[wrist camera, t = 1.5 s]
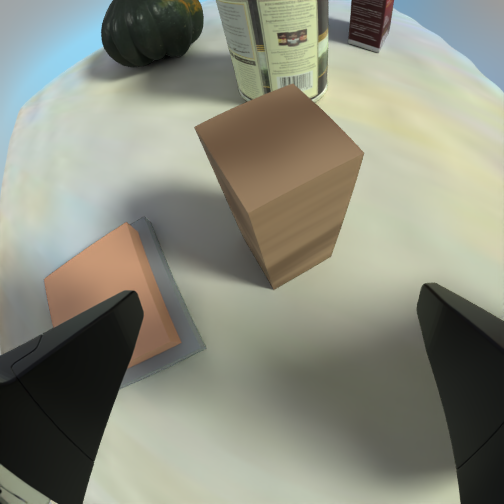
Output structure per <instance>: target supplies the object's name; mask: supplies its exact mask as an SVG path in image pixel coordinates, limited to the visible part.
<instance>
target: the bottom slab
mask: <svg viewBox="0 0 504 504" xmlns="http://www.w3.org/2000/svg"><path fill="white" fill-rule="evenodd" d="M131 226H132V227H133V228H134V229H135V230H136V231H138V233H139V236H140V239H141V242H142V245H143V248H144V251H145V253H146V256H147V259H148V262H149V264H150V267H151V270H152V272H153V275H154V278H155V280H156V283H157V285H158V288H159V290H160V293H161V295H162V298H163V300H164V303H165V305H166V308H167V310H168V312H169V315H170V317H171V320H172V322H173V324H174V327H175V329H176V331H177V333H178V336H179V338H180V340H181V342H182V343H180V344H178V345H176V346H174V347H172V348H170V349H168V350H166V351H164V352H162V353H160V354H158V355H156V356H154V357H151V358H149V359H147V360H145V361H143V362H141V363H139V364H137V365H134V366H132V367H130V368H128V369H127V371H126V373H125V376H124V378H123V381H122V383H121V386H120V389H121V388H124V387H126V386H128V385H130V384H133V383H135V382H137V381H139V380H142V379H144V378H146V377H148V376H150V375H152V374H155V373H157V372H159V371H161V370H163V369H165V368H167V367H169V366H172V365H174V364H176V363H178V362H180V361H182V360H184V359H186V358H188V357H190V356H192V355H194V354H196V353H198V352H200V351H202V350H204V349H206V346H205V344H204V342H203V340H202V338H201V336H200V334H199V332H198V330H197V328H196V326H195V324H194V322H193V320H192V318H191V315H190V313H189V311H188V309H187V307H186V305H185V303H184V300H183V298H182V296H181V294H180V291H179V289H178V287H177V285H176V282H175V280H174V278H173V276H172V273H171V271H170V269H169V266H168V264H167V262H166V259H165V257H164V254H163V252H162V249H161V247H160V245H159V242H158V240H157V237H156V235H155V232H154V229H153V227H152V224H151V222H150V221H149V220H147V219H146V218H145V217H142V218H141V219H139V220H137V221H136V222H134V223H133V224H131Z"/></svg>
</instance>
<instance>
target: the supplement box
mask: <svg viewBox="0 0 504 504" xmlns="http://www.w3.org/2000/svg"><path fill="white" fill-rule="evenodd" d="M393 3H394V0H352V2H351V16H350V27H349V38H348V43H349V44H352V45H355V46H358V47H361V48H365V49H368V50H371V51H374V52H377V53H379V51H380V49H381V47H382V45H383V43H384V41H385V39H386V37H387V36H388V34H389V29H390V23H391V17H392V11H393Z"/></svg>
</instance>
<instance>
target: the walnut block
mask: <svg viewBox="0 0 504 504" xmlns="http://www.w3.org/2000/svg"><path fill="white" fill-rule="evenodd" d="M194 128H195V130H196V132H197V134H198V137H199V139H200V141H201V143H202V146H203V148H204V150H205V152H206V155H207V157H208V159H209V161H210V164H211V166H212V168H213V170H214V173H215V175H216V177H217V179H218V182H219V184H220V186H221V188H222V191H223V193H224V195H225V198H226V200H227V202H228V204H229V206H230V209H231V211H232V213H233V215H234V218H235V220H236V222H237V224H238V227H239V229H240V231H241V233H242V236H243V237H244V239H245V241H246V243H247V244H248V246H249V248H250V250H251V251H252V253H253V255H254V257H255V258H256V260H257V262H258V263H259V265H260V267H261V269H262V270H263V272H264V274H265V276H266V277H267V279H268V281H269V282H270V284H271V286H272V288H273V289H276V288H278V287H280V286H281V285H283V284H285V283H287V282H288V281H290V280H292V279H294V278H295V277H297V276H299V275H301V274H302V273H304V272H306V271H307V270H309V269H311V268H312V267H314V266H316V265H318V264H319V263H321V262H323V261H324V260H326V259H328V258H329V257H331V255H332V252H333V249H334V246H335V244H336V241H337V238H338V235H339V232H340V229H341V226H342V223H343V220H344V217H345V214H346V211H347V208H348V205H349V202H350V199H351V196H352V192H353V189H354V186H355V183H356V180H357V176H358V173H359V169H360V166H361V163H362V159H363V156H364V152H363V151H362V150H361V149H360V148H359V147H358V146H357V145H356V144H355V143H354V141H353V140H352V139H351V138H350V137H349V136H348V135H347V134H346V133H345V132H344V131H343V130H342V129H341V128H340V127H339V126H338V125H337V124H336V123H335V122H334V121H333V120H332V119H331V118H330V117H329V116H328V115H327V114H326V113H325V112H324V111H323V110H322V109H321V108H320V107H319V106H318V105H316V104H315V103H314V102H313V101H312V100H311V99H310V98H309V97H308V96H307V95H306V94H304V93H303V92H302V91H301V90H300V89H299V88H298V87H297V86H295V85H294V84H290V85H287V86H285V87H282V88H279V89H277V90H274V91H272V92H269V93H267V94H264V95H262V96H260V97H257V98H255V99H253V100H250V101H248V102H246V103H243V104H241V105H239V106H237V107H234V108H232V109H230V110H228V111H226V112H224V113H222V114H219V115H217V116H215V117H213V118H211V119H209V120H207V121H205V122H203V123H201V124H199V125H197V126H195V127H194Z"/></svg>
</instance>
